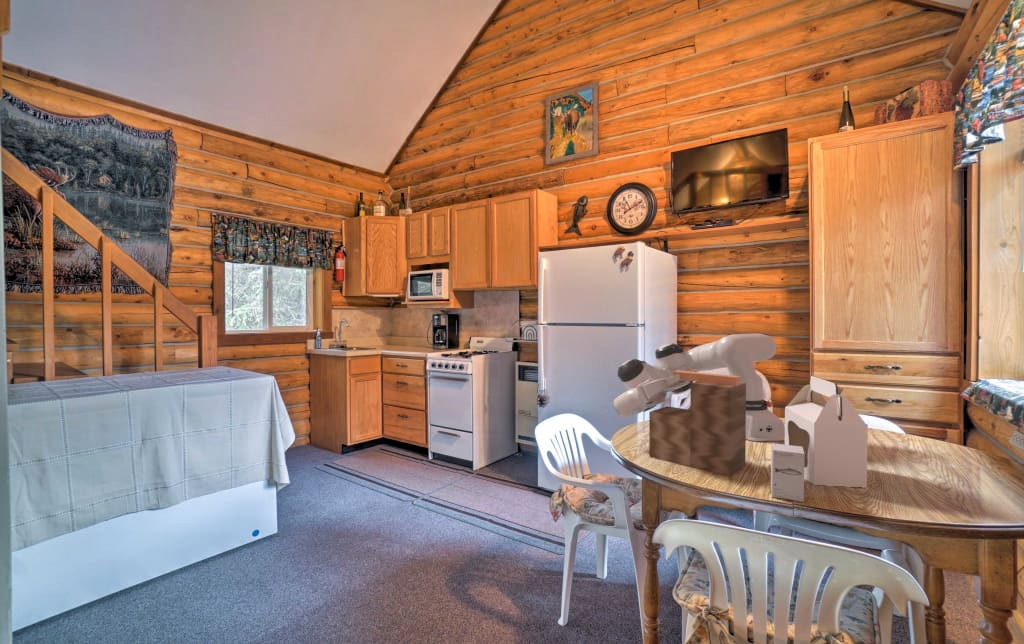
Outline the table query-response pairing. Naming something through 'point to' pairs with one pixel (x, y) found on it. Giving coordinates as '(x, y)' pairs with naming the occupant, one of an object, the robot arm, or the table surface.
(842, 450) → the gable box
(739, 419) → the stepped stand
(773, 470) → the supplement box
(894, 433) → the table surface
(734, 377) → the bar
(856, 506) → the table surface
